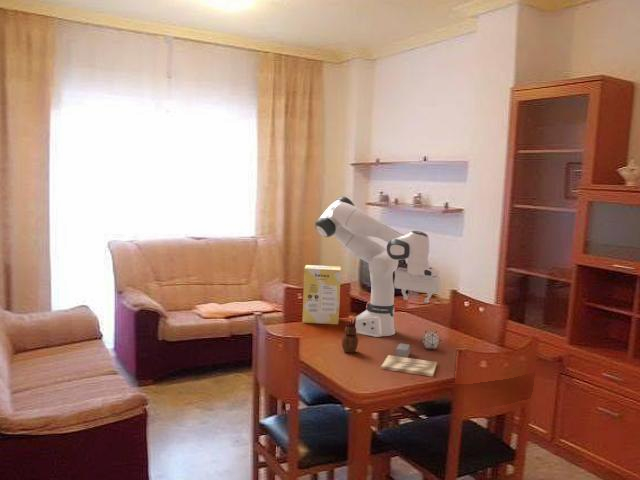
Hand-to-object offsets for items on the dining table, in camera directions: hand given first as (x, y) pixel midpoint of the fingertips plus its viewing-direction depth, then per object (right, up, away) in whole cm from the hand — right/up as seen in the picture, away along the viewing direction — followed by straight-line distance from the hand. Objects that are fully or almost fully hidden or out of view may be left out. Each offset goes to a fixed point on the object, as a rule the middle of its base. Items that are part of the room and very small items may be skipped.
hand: (416, 301), depth 229 cm
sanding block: (-6, -23, -2) cm, 24 cm away
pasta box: (-41, -16, +48) cm, 65 cm away
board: (-6, -24, -16) cm, 30 cm away
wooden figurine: (-29, -22, 0) cm, 36 cm away
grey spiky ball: (+8, -22, +8) cm, 25 cm away
